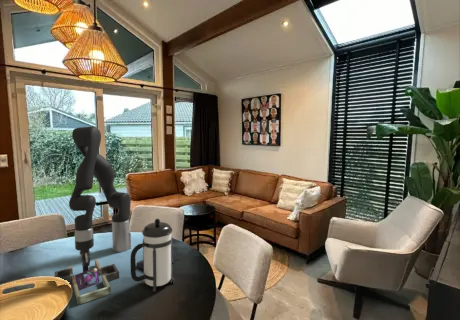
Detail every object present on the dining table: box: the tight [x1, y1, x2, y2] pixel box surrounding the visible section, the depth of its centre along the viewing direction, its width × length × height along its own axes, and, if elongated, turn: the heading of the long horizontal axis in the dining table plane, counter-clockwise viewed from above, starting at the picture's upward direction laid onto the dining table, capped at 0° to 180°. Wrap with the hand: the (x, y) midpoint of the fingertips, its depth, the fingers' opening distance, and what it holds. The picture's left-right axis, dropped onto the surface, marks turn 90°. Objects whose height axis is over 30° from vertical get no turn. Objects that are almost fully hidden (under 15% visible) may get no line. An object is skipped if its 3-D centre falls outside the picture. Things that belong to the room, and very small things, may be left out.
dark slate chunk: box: [136, 247, 182, 271], centre depth 136 cm, size 15×22×5 cm
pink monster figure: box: [74, 267, 100, 291], centre depth 115 cm, size 7×5×9 cm
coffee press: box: [130, 218, 176, 293], centre depth 114 cm, size 17×16×30 cm
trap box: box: [54, 258, 120, 305], centre depth 117 cm, size 24×30×3 cm
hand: (85, 273), depth 121 cm, fingers closed
